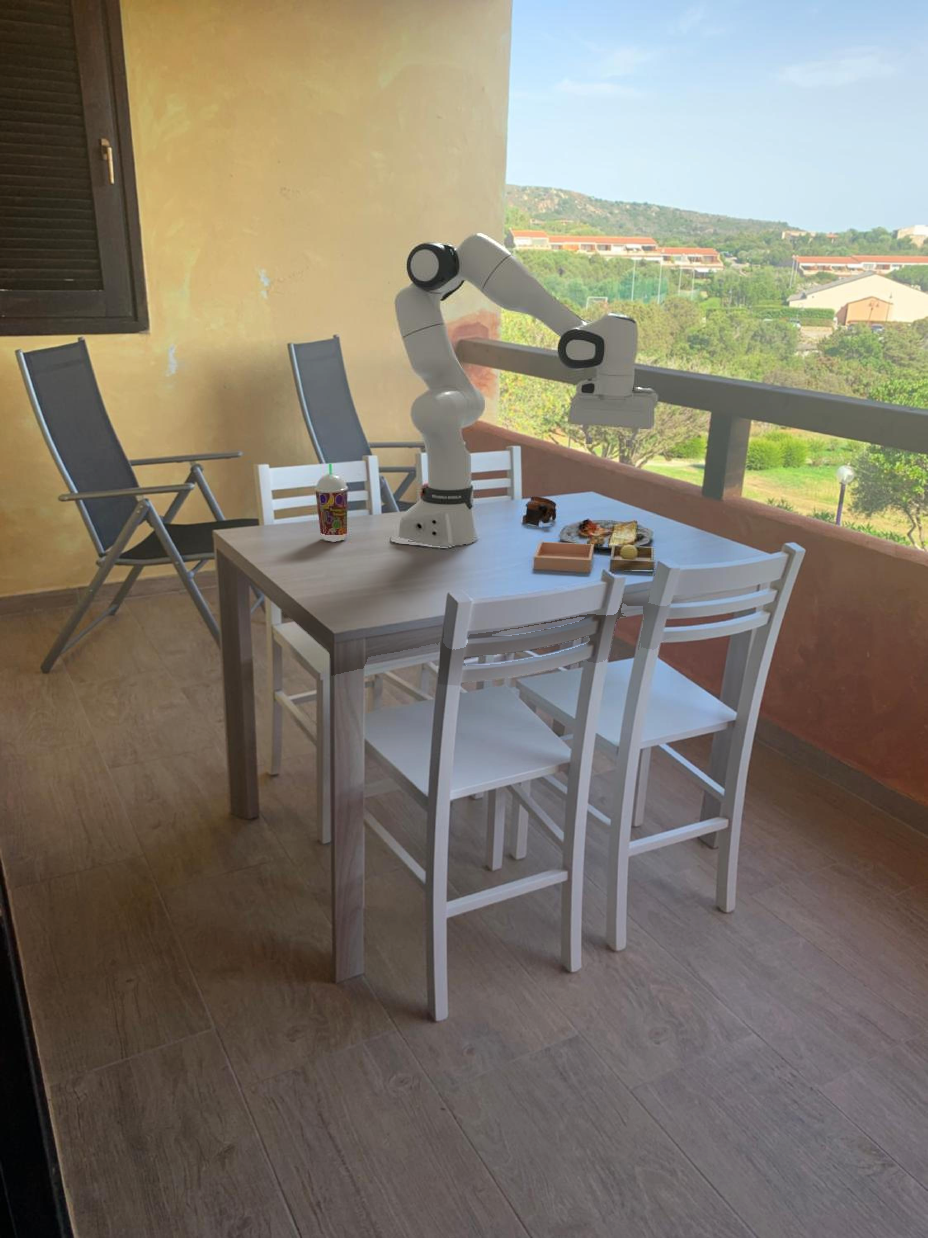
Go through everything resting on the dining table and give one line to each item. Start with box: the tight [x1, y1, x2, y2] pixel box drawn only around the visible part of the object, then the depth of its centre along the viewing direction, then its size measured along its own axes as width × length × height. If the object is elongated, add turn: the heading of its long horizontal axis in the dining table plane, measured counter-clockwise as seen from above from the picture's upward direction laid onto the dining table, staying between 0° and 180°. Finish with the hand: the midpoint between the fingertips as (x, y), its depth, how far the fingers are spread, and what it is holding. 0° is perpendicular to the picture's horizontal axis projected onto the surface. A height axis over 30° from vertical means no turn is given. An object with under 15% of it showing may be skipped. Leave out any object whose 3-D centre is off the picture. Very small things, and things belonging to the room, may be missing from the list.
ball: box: [620, 545, 637, 560], centre depth 217 cm, size 4×4×4 cm
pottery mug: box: [522, 496, 557, 527], centre depth 253 cm, size 12×10×8 cm
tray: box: [609, 545, 655, 571], centre depth 218 cm, size 10×12×3 cm
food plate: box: [558, 518, 654, 550], centre depth 237 cm, size 25×23×4 cm
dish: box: [533, 541, 595, 573], centre depth 218 cm, size 13×13×3 cm
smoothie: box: [314, 462, 349, 535], centre depth 235 cm, size 8×8×20 cm
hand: (608, 445), depth 219 cm, fingers open, 8 cm apart
